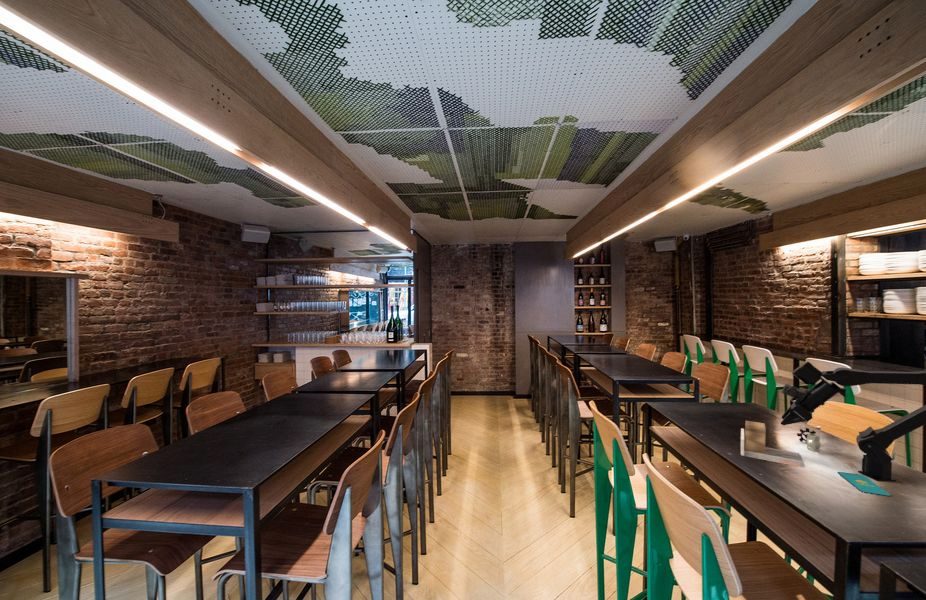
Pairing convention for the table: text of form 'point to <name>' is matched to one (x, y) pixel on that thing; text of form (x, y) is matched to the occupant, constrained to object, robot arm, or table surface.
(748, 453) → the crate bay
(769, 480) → the table surface
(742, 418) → the table surface
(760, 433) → the tan wooden block
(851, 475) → the smartphone
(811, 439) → the valve
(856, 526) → the table surface
